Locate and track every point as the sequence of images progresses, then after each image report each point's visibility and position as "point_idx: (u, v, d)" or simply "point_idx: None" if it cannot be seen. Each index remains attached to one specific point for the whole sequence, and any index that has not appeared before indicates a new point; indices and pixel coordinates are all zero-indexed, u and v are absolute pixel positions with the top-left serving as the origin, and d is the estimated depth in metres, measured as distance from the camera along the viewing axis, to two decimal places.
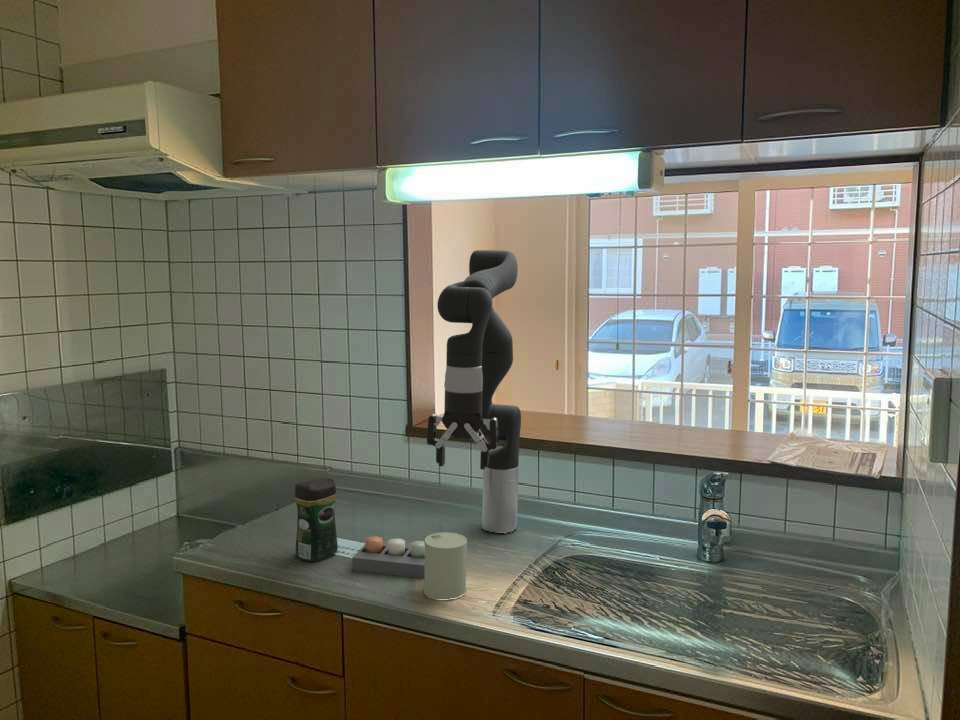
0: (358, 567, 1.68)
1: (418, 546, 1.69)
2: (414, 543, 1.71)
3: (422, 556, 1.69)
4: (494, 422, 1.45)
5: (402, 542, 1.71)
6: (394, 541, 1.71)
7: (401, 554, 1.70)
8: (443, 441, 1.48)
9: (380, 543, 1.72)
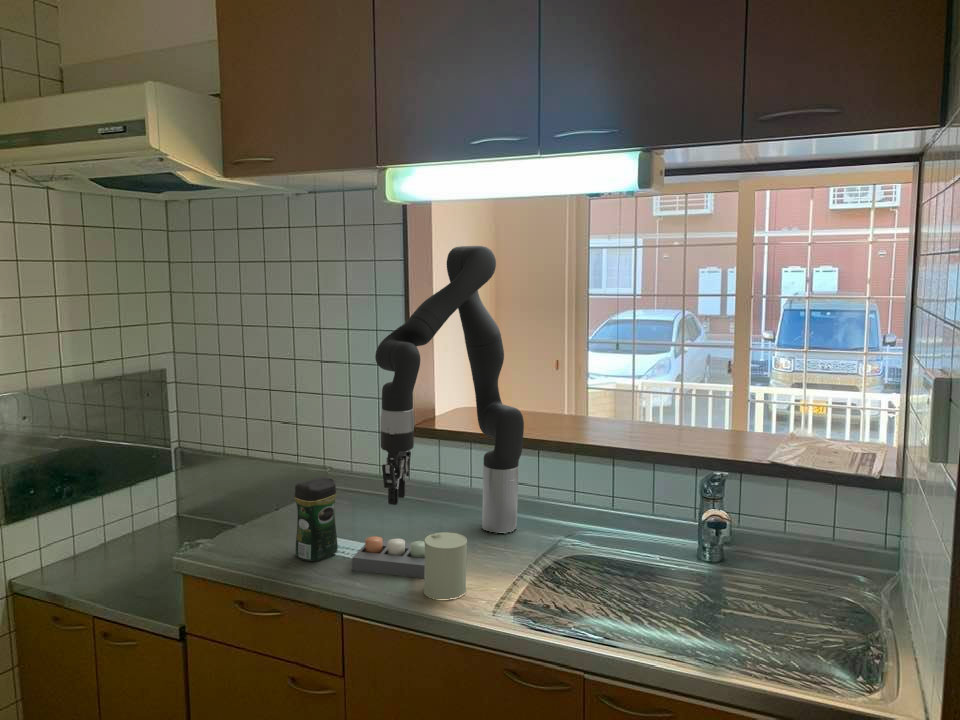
0: (358, 567, 1.68)
1: (418, 546, 1.69)
2: (414, 543, 1.71)
3: (422, 556, 1.69)
4: None
5: (402, 542, 1.71)
6: (394, 541, 1.71)
7: (401, 554, 1.70)
8: (398, 480, 1.67)
9: (380, 543, 1.72)
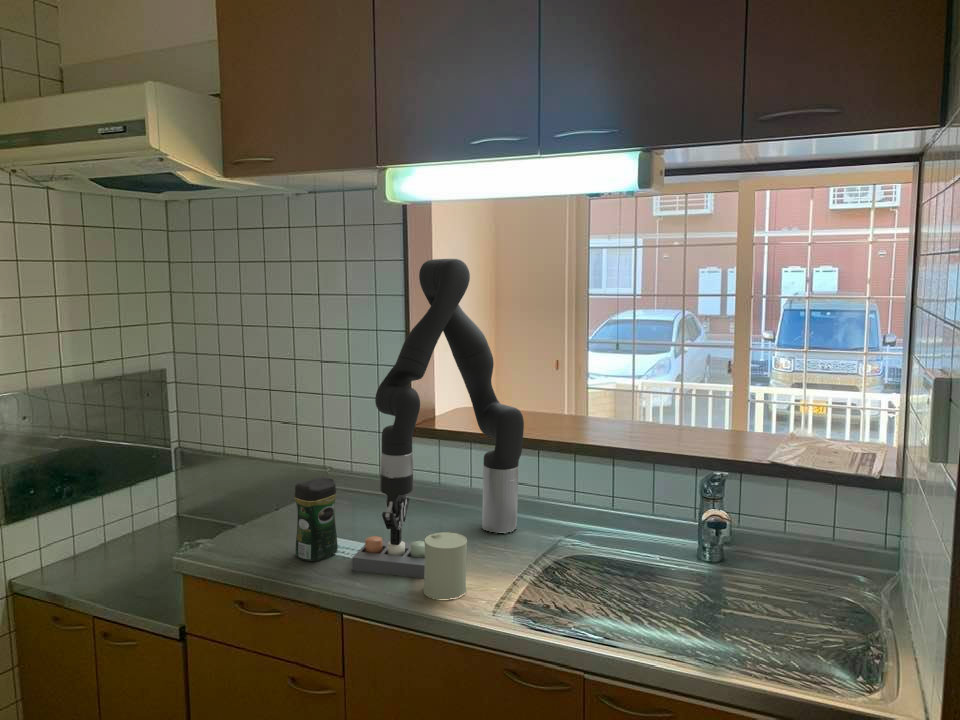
0: (358, 567, 1.68)
1: (418, 546, 1.69)
2: (414, 543, 1.71)
3: (422, 556, 1.69)
4: None
5: (402, 544, 1.71)
6: None
7: None
8: (400, 521, 1.70)
9: (380, 543, 1.72)
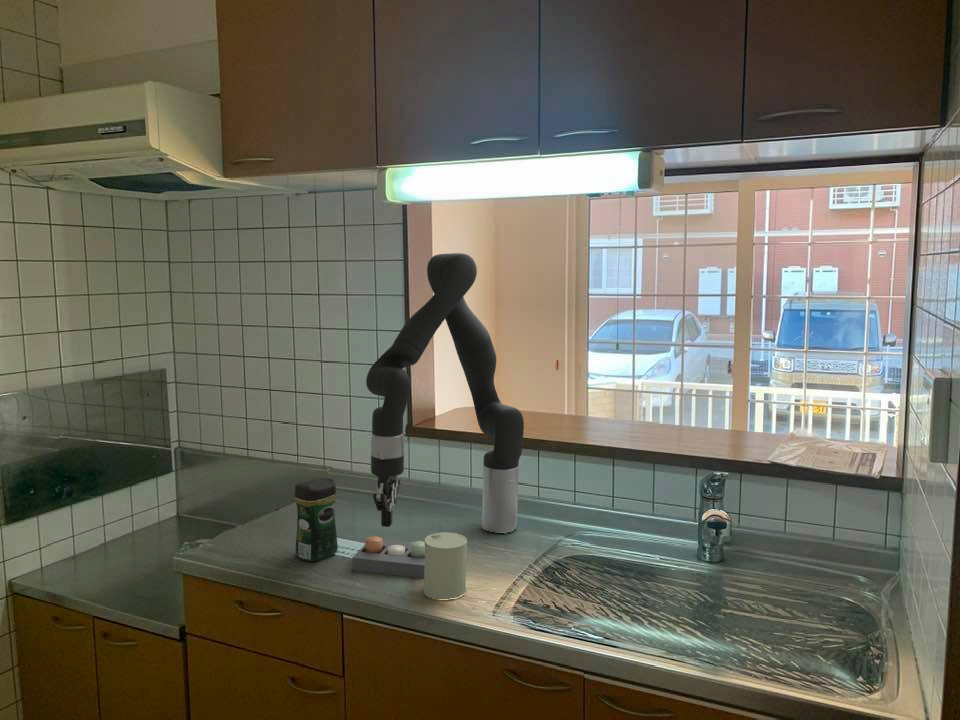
0: (358, 567, 1.68)
1: (418, 546, 1.69)
2: (414, 543, 1.71)
3: (422, 556, 1.69)
4: None
5: (402, 548, 1.71)
6: (394, 548, 1.72)
7: None
8: (391, 502, 1.69)
9: (380, 543, 1.72)
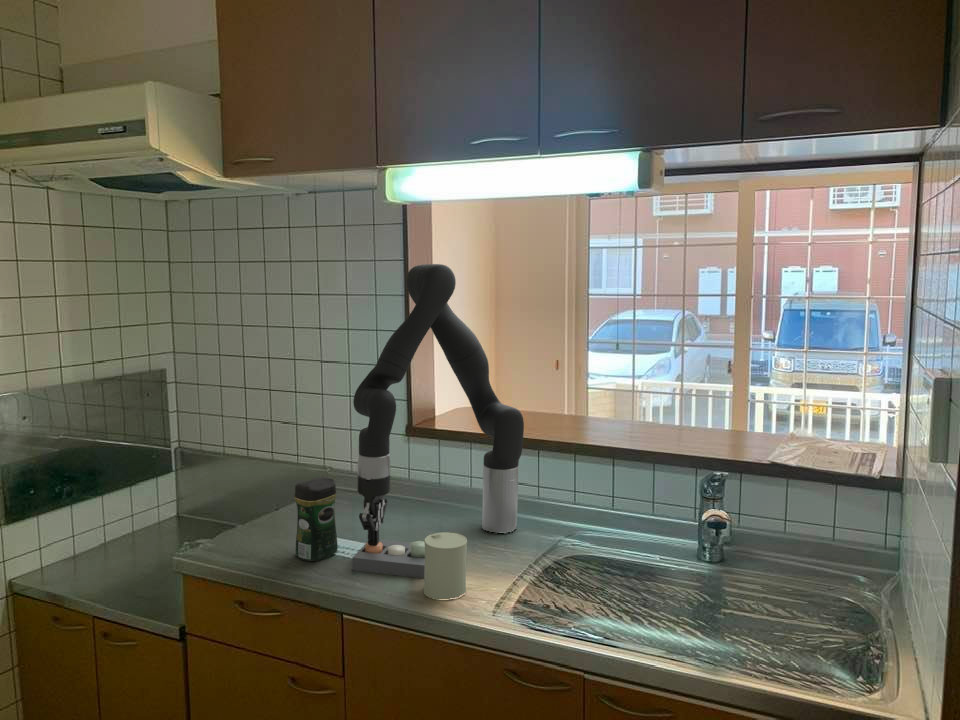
0: (358, 567, 1.68)
1: (418, 546, 1.69)
2: (414, 543, 1.71)
3: (422, 556, 1.69)
4: None
5: (402, 548, 1.71)
6: (394, 548, 1.72)
7: None
8: (377, 522, 1.71)
9: (380, 548, 1.72)
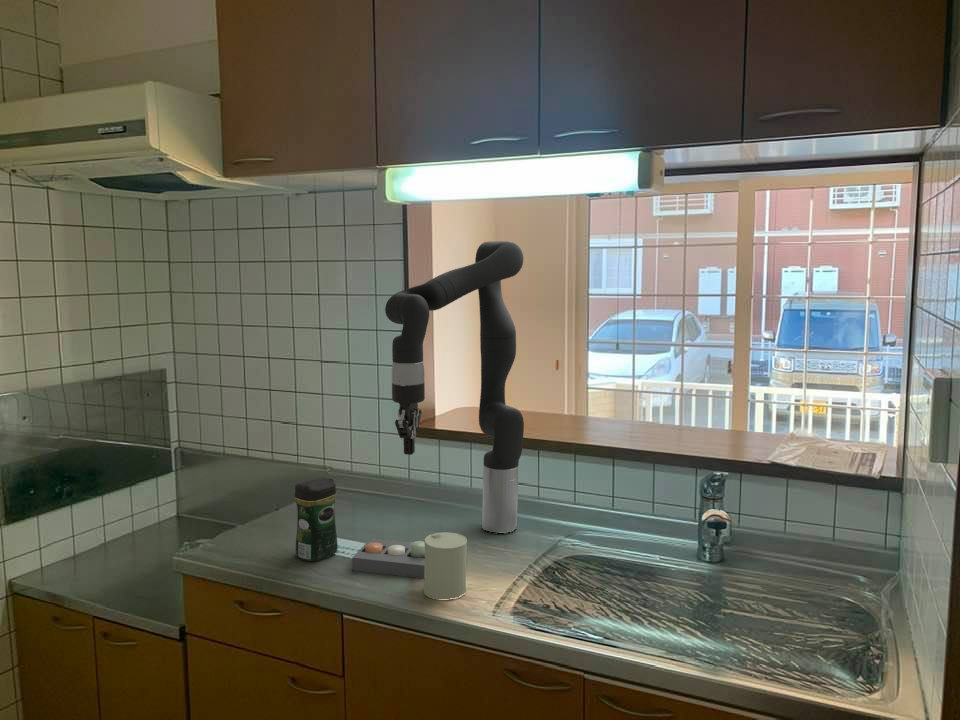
0: (358, 567, 1.68)
1: (418, 546, 1.69)
2: (414, 543, 1.71)
3: (422, 556, 1.69)
4: None
5: (402, 548, 1.71)
6: (394, 548, 1.72)
7: None
8: (413, 430, 1.71)
9: (380, 549, 1.72)
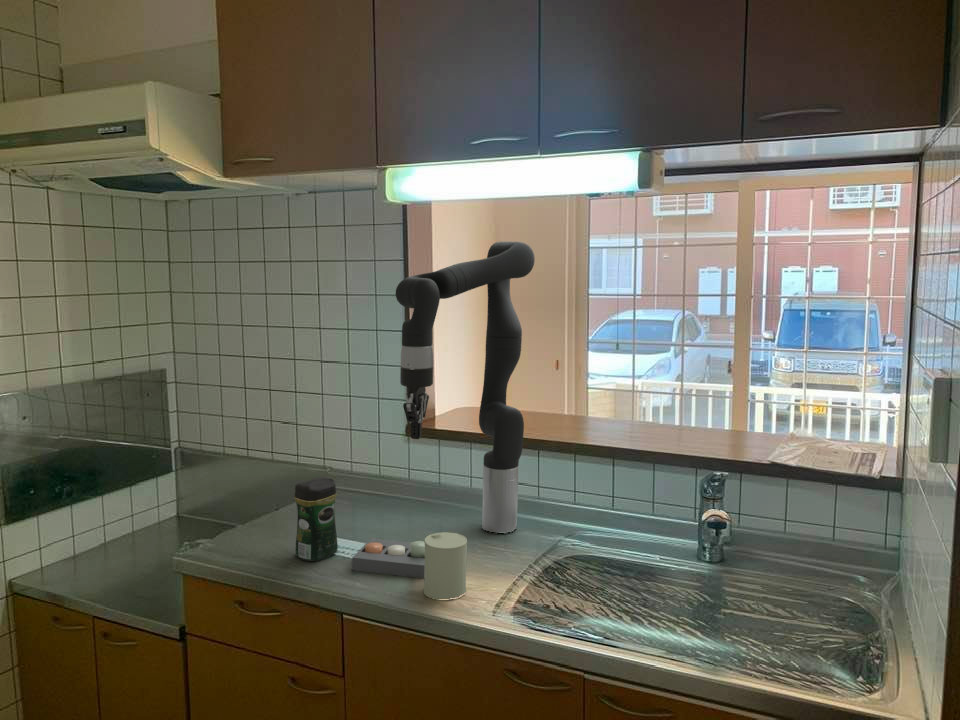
0: (358, 567, 1.68)
1: (418, 546, 1.69)
2: (414, 543, 1.71)
3: (422, 556, 1.69)
4: None
5: (402, 548, 1.71)
6: (394, 548, 1.72)
7: None
8: (420, 414, 1.71)
9: (380, 549, 1.72)
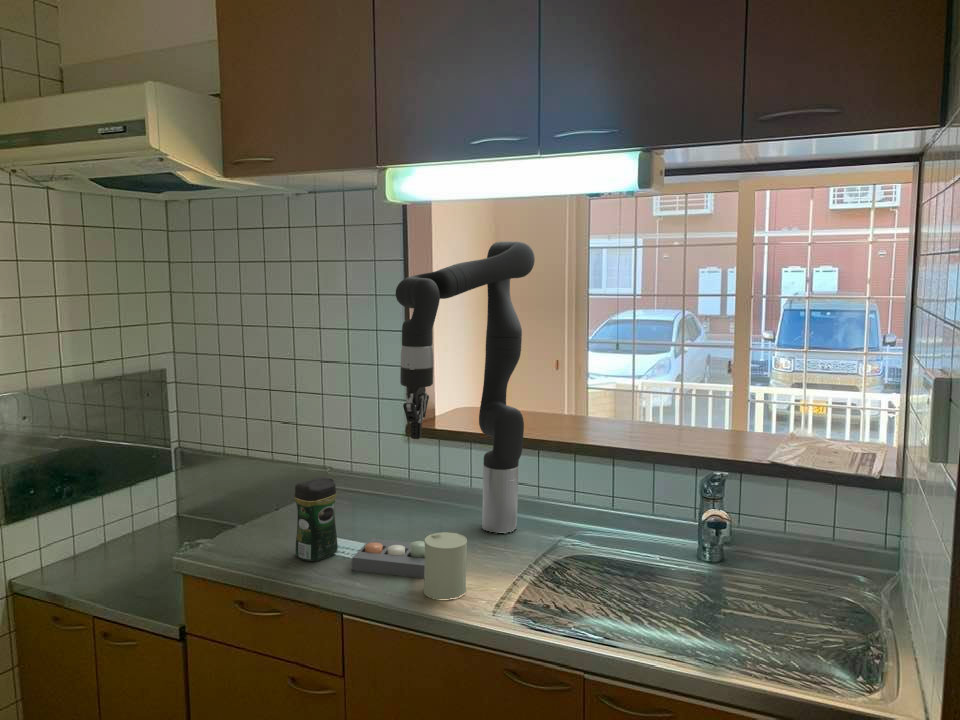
0: (358, 567, 1.68)
1: (418, 546, 1.69)
2: (414, 543, 1.71)
3: (422, 556, 1.69)
4: None
5: (402, 548, 1.71)
6: (394, 548, 1.72)
7: None
8: (420, 414, 1.71)
9: (380, 549, 1.72)
